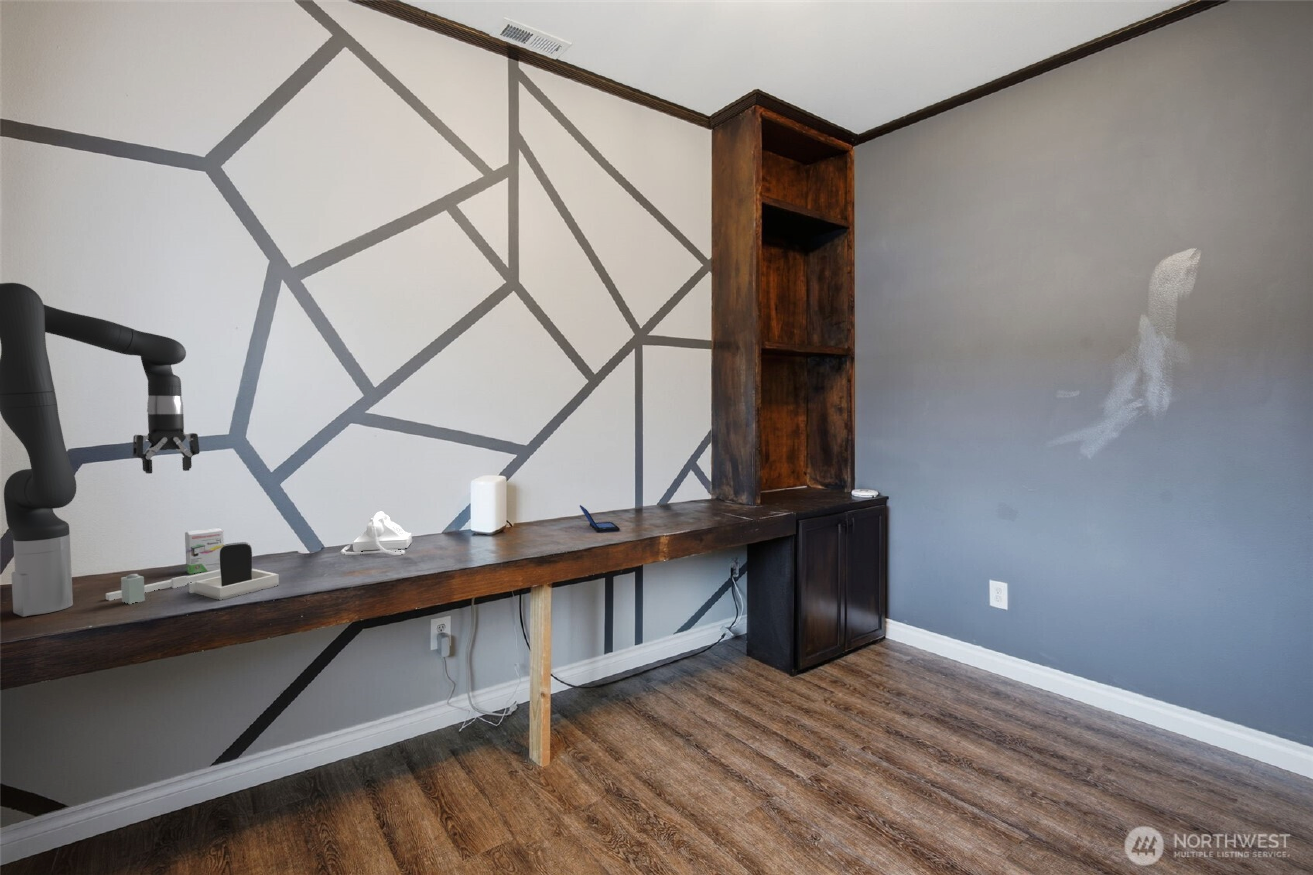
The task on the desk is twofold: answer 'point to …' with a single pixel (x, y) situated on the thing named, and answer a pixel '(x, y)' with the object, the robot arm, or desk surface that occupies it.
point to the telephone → (381, 537)
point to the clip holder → (154, 586)
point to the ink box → (203, 550)
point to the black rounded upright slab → (235, 563)
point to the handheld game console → (600, 524)
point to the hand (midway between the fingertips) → (168, 471)
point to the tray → (236, 585)
